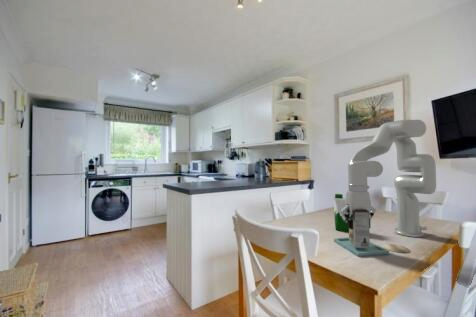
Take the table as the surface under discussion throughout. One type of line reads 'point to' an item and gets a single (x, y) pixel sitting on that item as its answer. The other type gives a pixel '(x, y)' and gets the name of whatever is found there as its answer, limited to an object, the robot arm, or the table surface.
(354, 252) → the tray
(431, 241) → the table surface
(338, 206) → the milk carton
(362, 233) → the coffee box
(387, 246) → the gold metallic coaster
